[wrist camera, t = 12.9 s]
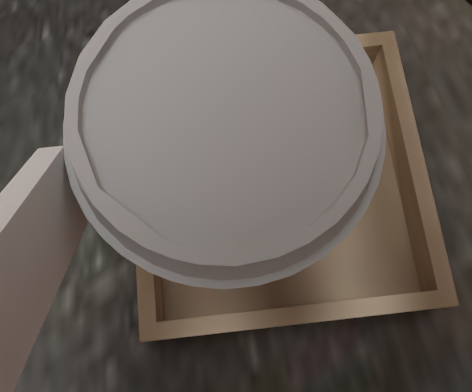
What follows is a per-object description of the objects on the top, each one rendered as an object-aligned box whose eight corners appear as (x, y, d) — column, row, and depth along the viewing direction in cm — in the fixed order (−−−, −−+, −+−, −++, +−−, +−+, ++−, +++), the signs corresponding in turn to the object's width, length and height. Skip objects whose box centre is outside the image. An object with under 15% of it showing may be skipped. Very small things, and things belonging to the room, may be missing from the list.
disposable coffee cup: (114, 161, 24) (3, 22, 12) (274, 100, 25) (310, -82, 13) (176, 329, 22) (111, 351, 10) (348, 255, 23) (468, 199, 11)
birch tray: (377, 61, 27) (394, 30, 24) (432, 307, 23) (459, 305, 20) (138, 87, 27) (125, 58, 24) (153, 339, 23) (139, 342, 20)
